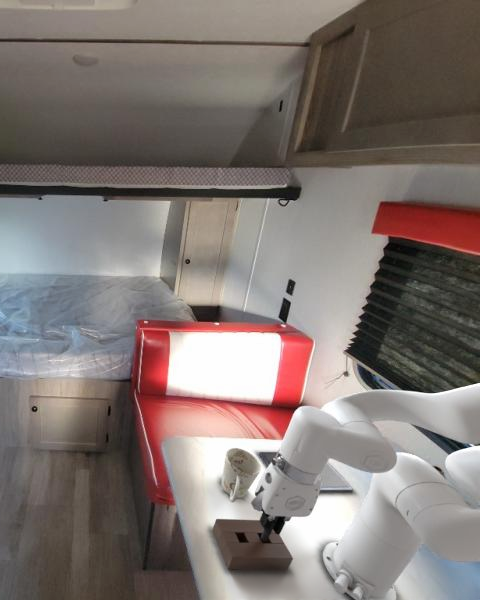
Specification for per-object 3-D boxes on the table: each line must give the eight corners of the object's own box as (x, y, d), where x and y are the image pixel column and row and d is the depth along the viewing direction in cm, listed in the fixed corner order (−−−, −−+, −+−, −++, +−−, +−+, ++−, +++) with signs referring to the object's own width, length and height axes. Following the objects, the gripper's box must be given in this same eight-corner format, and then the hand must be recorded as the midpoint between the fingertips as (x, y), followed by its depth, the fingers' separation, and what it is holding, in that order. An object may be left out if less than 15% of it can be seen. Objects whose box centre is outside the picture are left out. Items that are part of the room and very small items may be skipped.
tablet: (317, 454, 105) (318, 452, 104) (352, 491, 93) (353, 489, 92) (258, 453, 102) (259, 451, 102) (286, 492, 90) (287, 489, 90)
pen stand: (287, 570, 72) (293, 558, 70) (227, 569, 71) (232, 557, 69) (266, 531, 79) (271, 520, 78) (212, 530, 78) (216, 518, 77)
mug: (250, 483, 92) (260, 456, 88) (248, 522, 81) (260, 493, 77) (218, 470, 95) (227, 443, 91) (213, 505, 84) (223, 476, 81)
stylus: (260, 554, 74) (279, 514, 70) (254, 548, 75) (272, 508, 71) (263, 550, 75) (282, 511, 70) (257, 545, 76) (275, 505, 71)
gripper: (270, 479, 62) (243, 544, 69) (349, 483, 63) (314, 546, 70) (250, 448, 69) (227, 510, 75) (321, 451, 70) (292, 512, 77)
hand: (269, 527), depth 72 cm, fingers closed on stylus, 1 cm apart
